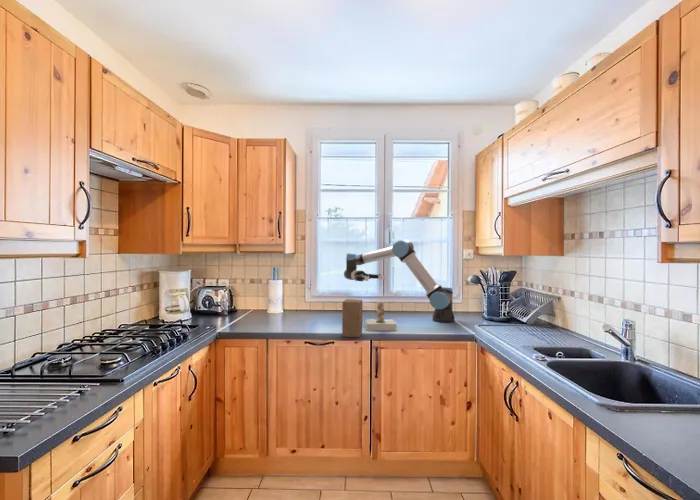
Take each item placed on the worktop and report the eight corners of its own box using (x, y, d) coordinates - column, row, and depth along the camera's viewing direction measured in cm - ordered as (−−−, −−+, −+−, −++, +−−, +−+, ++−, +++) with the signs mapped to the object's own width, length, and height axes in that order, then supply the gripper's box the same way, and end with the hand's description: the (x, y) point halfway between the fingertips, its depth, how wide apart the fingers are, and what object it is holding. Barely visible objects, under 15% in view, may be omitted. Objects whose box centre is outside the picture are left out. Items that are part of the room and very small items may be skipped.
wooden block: (359, 337, 206) (359, 302, 205) (342, 336, 208) (342, 301, 207) (362, 333, 216) (362, 299, 215) (345, 332, 218) (346, 299, 217)
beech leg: (383, 327, 231) (383, 302, 231) (384, 328, 227) (384, 303, 226) (376, 327, 231) (376, 302, 231) (377, 328, 227) (377, 303, 226)
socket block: (393, 325, 236) (393, 319, 236) (396, 330, 223) (396, 324, 223) (365, 325, 235) (365, 319, 235) (366, 330, 222) (366, 323, 222)
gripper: (373, 280, 264) (391, 282, 246) (343, 281, 251) (360, 285, 233) (373, 269, 264) (391, 271, 246) (343, 271, 251) (360, 273, 233)
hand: (376, 278), depth 239 cm, fingers open, 13 cm apart
